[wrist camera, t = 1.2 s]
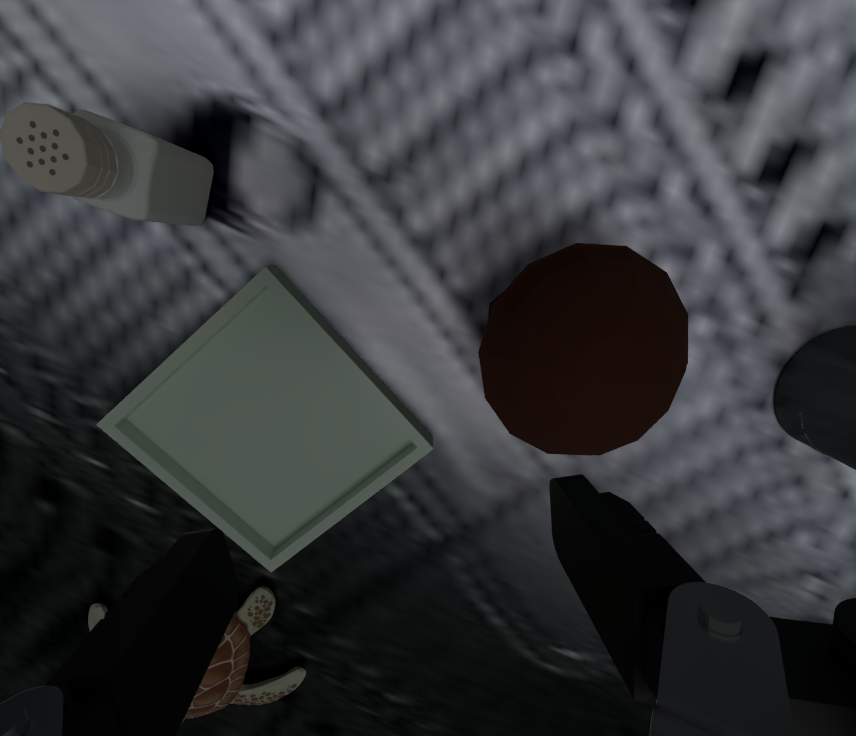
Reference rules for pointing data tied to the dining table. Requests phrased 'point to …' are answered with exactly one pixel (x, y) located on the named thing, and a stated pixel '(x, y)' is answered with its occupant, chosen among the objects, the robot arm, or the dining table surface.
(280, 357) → the tray
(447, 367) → the dining table surface
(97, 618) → the decorative turtle
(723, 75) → the dining table surface
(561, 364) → the muffin
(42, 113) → the pepper shaker
